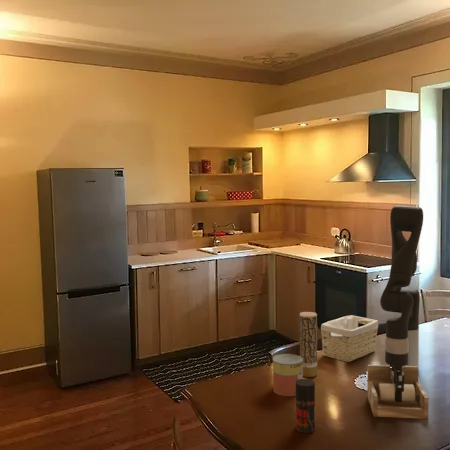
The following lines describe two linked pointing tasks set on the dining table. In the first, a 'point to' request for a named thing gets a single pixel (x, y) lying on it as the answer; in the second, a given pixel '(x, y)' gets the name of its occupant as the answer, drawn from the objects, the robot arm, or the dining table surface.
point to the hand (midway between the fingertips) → (396, 397)
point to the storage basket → (349, 337)
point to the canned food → (286, 373)
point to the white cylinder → (389, 393)
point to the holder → (391, 407)
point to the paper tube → (308, 343)
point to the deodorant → (305, 405)
